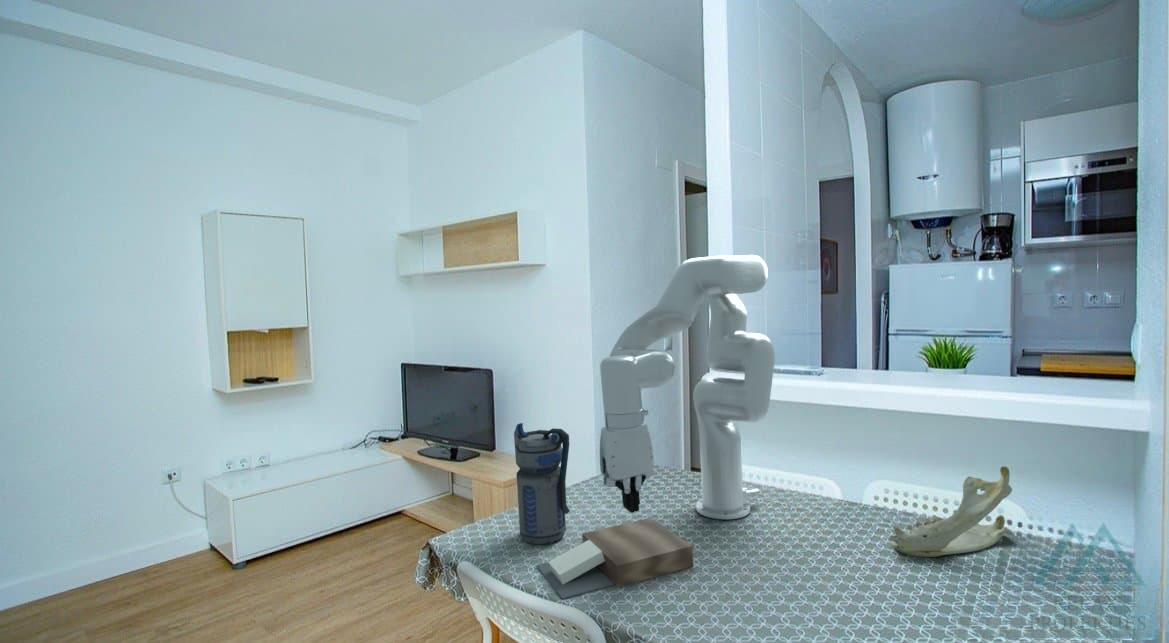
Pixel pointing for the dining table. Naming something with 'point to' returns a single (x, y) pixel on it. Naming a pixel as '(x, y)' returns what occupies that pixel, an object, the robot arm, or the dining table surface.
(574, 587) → the mat
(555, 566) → the pale grey flat tile
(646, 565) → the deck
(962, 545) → the jawbone
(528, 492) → the beverage bottle
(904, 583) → the dining table surface
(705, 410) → the robot arm
